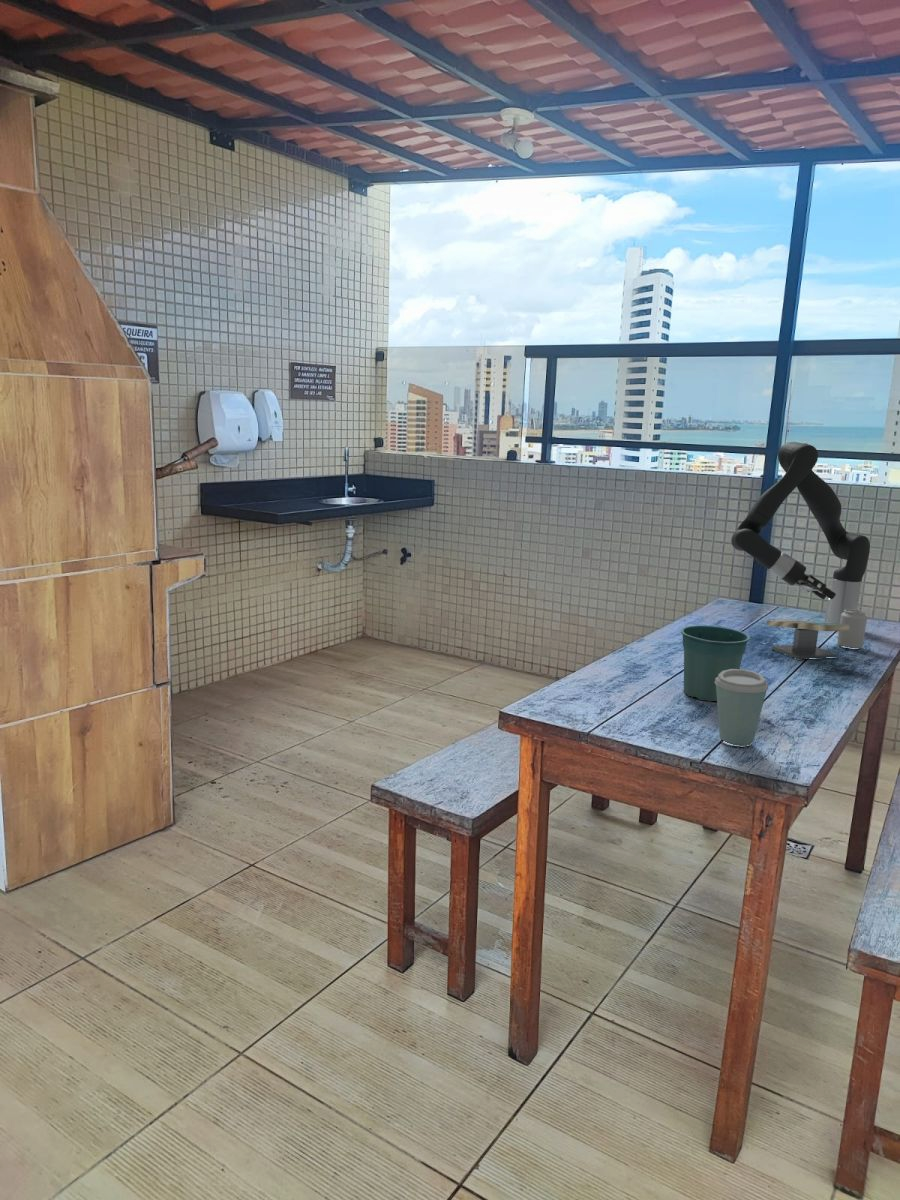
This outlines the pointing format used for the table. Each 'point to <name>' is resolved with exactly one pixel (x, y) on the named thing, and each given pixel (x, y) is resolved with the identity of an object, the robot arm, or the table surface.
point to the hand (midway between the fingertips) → (829, 596)
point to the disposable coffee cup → (739, 704)
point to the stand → (804, 646)
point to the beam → (809, 625)
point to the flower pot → (710, 657)
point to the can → (852, 628)
